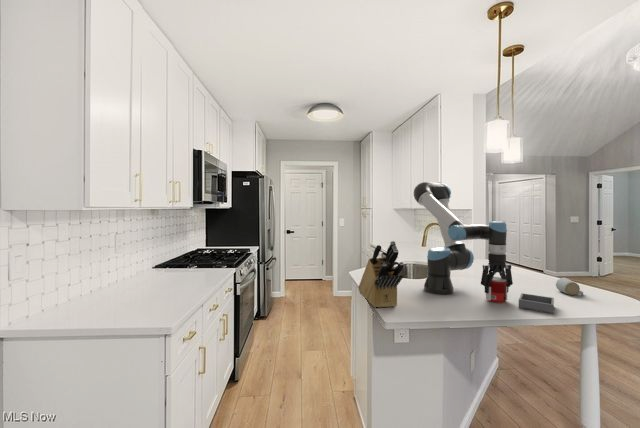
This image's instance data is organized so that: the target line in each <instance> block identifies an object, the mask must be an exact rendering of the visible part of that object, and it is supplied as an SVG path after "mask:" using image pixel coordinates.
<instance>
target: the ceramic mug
mask: <svg viewBox="0 0 640 428" xmlns="http://www.w3.org/2000/svg"><path fill="white" fill-rule="evenodd" d="M555 288H556V289H557V290H558V291H559V292H561V293H564V294H567V295H570V296H576V295H577V294H580V295H583V294H584V291H582V290H580V289H581V288H580V285H579V284H578V283H577V282H576V281H573V280H571V279H569V278H567V277H560V278H558V280H556V282H555Z"/></svg>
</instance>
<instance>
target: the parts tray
mask: <svg viewBox="0 0 640 428" xmlns="http://www.w3.org/2000/svg"><path fill="white" fill-rule="evenodd" d="M554 306H555V298H554V297H550V296H543V295H536V294H529V293H523V292H521V294H520V296H519V298H518V309H523V310H527V311H528V310H529V311H533V312H540V313H545V314H549V315H554Z"/></svg>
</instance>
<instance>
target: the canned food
mask: <svg viewBox="0 0 640 428" xmlns="http://www.w3.org/2000/svg"><path fill="white" fill-rule="evenodd" d="M489 287H491V303H495V304H504V303H505V304H506V301H507V300H506V279H502V278H501V277H499V276H494V277H493V279H492V281H491V284H490V286H489ZM488 301H489V300H488ZM489 302H490V301H489Z"/></svg>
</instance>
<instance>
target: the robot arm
mask: <svg viewBox="0 0 640 428" xmlns="http://www.w3.org/2000/svg"><path fill="white" fill-rule="evenodd" d="M451 195H452V191H451V188H450V186H449V185H448V184H446V183H443V182H430V181H429V182H427V181H425V182H424V181H423V182H420V183H418V184H417V185H416V186H415V187H414V189H413V197H414V200H415V201H416V202H417V203H418V204H419V205H420V207H421V206H422V207H424V208H425V209H426V210H427V211H428V212H429V213H431V215H432V216H433V217H434V218H435V219H436V221H437V224H438V227H439V231H440V233H441V237H442V239H443V242H444V243H443V244H444V246H438V247H436V246H435V247H432V248H429V249H428V251H427V255H426V258H427V273H426V274H427V276H426V279H425V282H424V284H423V290H424V291H425V292H427V293H430V294H436V295H451V294H454V286H453V283H452V280H451V271H463V270H467V269H469V268H471V267H472V265H473V263H474V260H475V258H474V253H473V252H472V250H470V249H469V248H467V247H466V244H465V243H464V242H463V241H468V240H471V241H472V240H486V241H488V247H487V248H488V249H487V250H488V264H482V275H481V280H480V285H481V286H484V293H485V300H486V301H487V300H489V302H490V301H491V287H489V286H490V284H491V281H492V279H493V277H495V276H496V273H499V276H500V278H502V279H506V301H508V293H509V288H510V287H511V286H512V285H513V284H514V282H513V277H512V265H511V264H507V263H506V262H507V255H506V253H507V236H508V235H507V232H508V229H507V223H506V222H505V221H488V224H480V223H471V224H464V223H463V222H462V221H461V220H459V218H457V217H456V215H454V214H453V213H452V212H451V209H450V206H449V203H450V199H451V197H452V196H451Z"/></svg>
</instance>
